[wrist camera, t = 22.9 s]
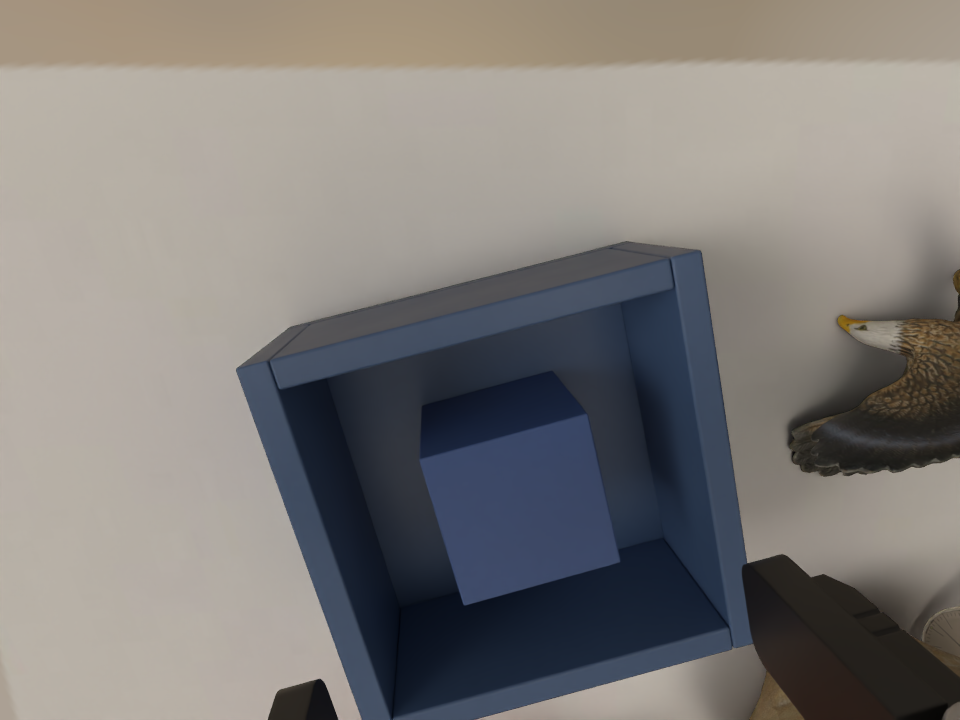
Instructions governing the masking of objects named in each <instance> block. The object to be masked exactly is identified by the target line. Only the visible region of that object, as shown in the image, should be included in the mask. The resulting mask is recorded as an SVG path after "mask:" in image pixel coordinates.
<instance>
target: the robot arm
mask: <svg viewBox="0 0 960 720" xmlns="http://www.w3.org/2000/svg"><path fill="white" fill-rule="evenodd" d="M742 580H743V587H744V593H745V600H746V607H747V613H748V620H749V626H750V633H751V637H752V641H753V644H754V646H755V649H756V651H757V654H758V656H759V658H760V660H761V661H762V663H763V665H764V667H765V668H766V670H767V671H768V672H769V674H770V675H771V676H772V678H773V679H774V680H775V681H776V683H777V684H778V685H779V687H780V688H781V689H782V691H783V692H784V693H785V695H786V696H787V697H788V698H789V700H790V701H791V702H792V704H793V705H794V706H795V708H796V709H797V710H798V711H799V713H800V714H801V715H802V717H803V718H804V719H805V720H960V677H959V676H958V675H957V674H955V673H954V672H953V671H952V670H951V669H949V668H948V667H947V666H946V665H945V664H944V663H942V662H941V661H940V660H939V659H938V658H936V657H935V656H934V655H933V654H932V653H931V652H929V651H928V650H927V649H926V648H925V647H923V646H922V645H921V644H920V643H919V642H918V641H916V640H915V639H914V638H913V637H912V636H910V635H909V634H908V633H907V632H906V631H904V630H900V628H899V626H898V625H897V624H896V623H895V622H894V621H893V620H891V619H890V618H889V617H888V616H887V615H886V614H884V613H880V611H879V609H878V608H877V607H876V606H875V605H874V604H873V603H871V602H870V601H869V600H868V599H867V598H865V597H864V596H863V595H862V594H861V593H860V592H858V591H857V590H856V589H855V588H853V587H851V586H848V585H846V584H844V583H842V582H840V581H837V580H835V579H833V578H831V577H829V576H826V575H824V574H822V575H819V576H815V577H810V576H809V575H808V574H807V573H805V572H804V571H803V570H802V569H801V568H800V567H799V566H798V565H797V564H796V563H795V562H793V561H792V560H791V559H790V558H789V557H788V556H786V555H783V554H781V555H777V556H773V557H769V558H766V559H762V560H758V561H755V562H751V563H747V564H744V565H743V567H742ZM268 720H338V717H337V715H336V712H335V709H334V706H333V704H332V701H331V698H330V695H329V693H328V690H327V687H326V685H325V683H324V682H323V681H322V680H321V679H317V680H314V681H310V682H306V683H303V684H299V685H295V686H292V687H288V688H284V689H281V690H279V691H278V692H277V694H276V696H275V699H274V702H273V705H272V708H271V711H270V714H269V717H268Z"/></svg>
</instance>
